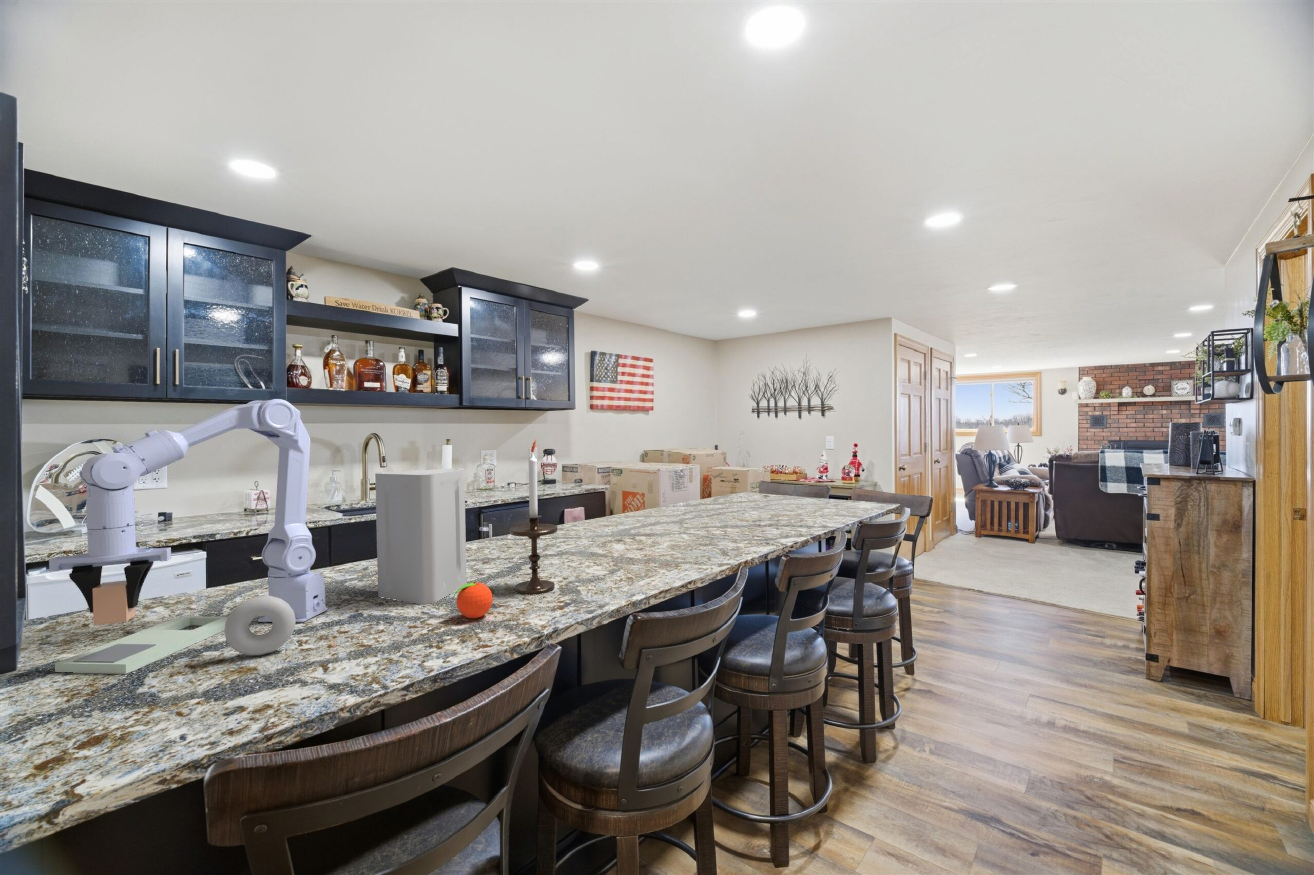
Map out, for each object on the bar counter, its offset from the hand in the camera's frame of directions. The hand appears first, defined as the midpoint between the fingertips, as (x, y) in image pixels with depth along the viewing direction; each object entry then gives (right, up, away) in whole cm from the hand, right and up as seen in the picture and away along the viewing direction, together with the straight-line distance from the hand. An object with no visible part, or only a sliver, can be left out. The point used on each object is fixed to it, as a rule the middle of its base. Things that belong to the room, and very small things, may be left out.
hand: (114, 608), depth 93 cm
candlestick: (+61, -8, +39) cm, 73 cm away
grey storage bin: (+36, -8, +36) cm, 52 cm away
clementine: (+52, -8, +20) cm, 57 cm away
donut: (+22, -9, +3) cm, 24 cm away
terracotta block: (0, -2, 0) cm, 2 cm away
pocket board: (+1, -9, +7) cm, 11 cm away
